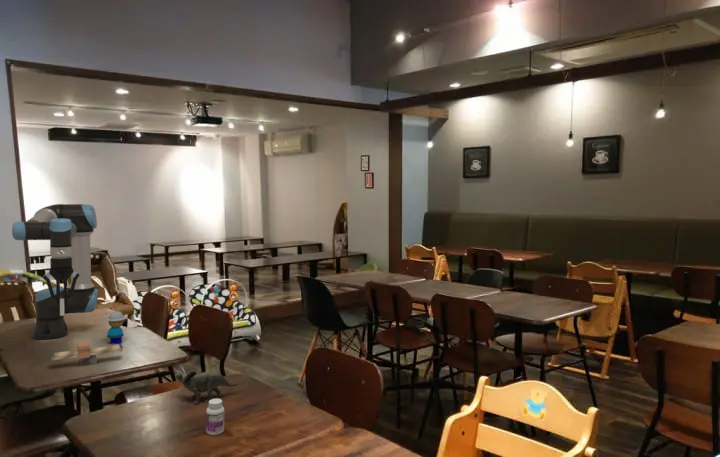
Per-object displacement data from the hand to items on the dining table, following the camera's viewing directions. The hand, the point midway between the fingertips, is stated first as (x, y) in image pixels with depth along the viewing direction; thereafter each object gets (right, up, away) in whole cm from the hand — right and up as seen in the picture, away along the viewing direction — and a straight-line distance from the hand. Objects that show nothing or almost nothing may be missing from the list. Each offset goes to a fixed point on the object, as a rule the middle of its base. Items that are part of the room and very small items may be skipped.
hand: (62, 314), depth 207 cm
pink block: (+6, -18, +5) cm, 19 cm away
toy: (+5, -19, +36) cm, 41 cm away
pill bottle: (+76, -27, -51) cm, 96 cm away
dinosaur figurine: (+66, -26, -27) cm, 76 cm away
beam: (+7, -21, +6) cm, 23 cm away
